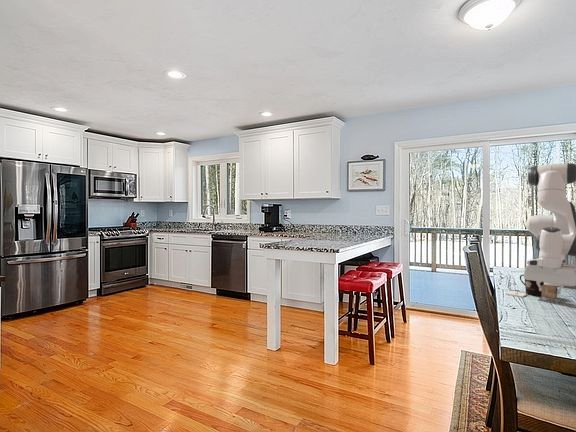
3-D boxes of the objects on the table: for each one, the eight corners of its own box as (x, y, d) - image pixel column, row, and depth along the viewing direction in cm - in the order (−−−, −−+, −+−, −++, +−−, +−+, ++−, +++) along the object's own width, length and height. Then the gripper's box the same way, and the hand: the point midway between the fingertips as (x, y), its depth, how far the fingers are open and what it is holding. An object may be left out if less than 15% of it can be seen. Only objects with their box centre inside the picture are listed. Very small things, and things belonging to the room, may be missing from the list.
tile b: (510, 292, 181) (510, 291, 181) (526, 295, 176) (527, 293, 176) (506, 294, 176) (506, 293, 176) (522, 297, 171) (522, 296, 171)
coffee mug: (548, 297, 172) (548, 276, 171) (528, 296, 173) (528, 275, 173) (536, 291, 183) (536, 272, 183) (517, 290, 185) (518, 271, 184)
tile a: (542, 297, 170) (542, 296, 170) (560, 300, 165) (560, 299, 165) (538, 300, 166) (538, 299, 166) (556, 303, 160) (556, 302, 160)
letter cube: (544, 295, 169) (544, 284, 169) (557, 297, 165) (557, 286, 165) (541, 296, 165) (541, 285, 165) (554, 298, 161) (555, 286, 162)
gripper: (580, 264, 159) (579, 295, 160) (527, 259, 175) (526, 287, 175) (577, 266, 155) (576, 297, 155) (523, 260, 170) (522, 289, 171)
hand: (549, 292), depth 165 cm, fingers closed on letter cube, 5 cm apart
